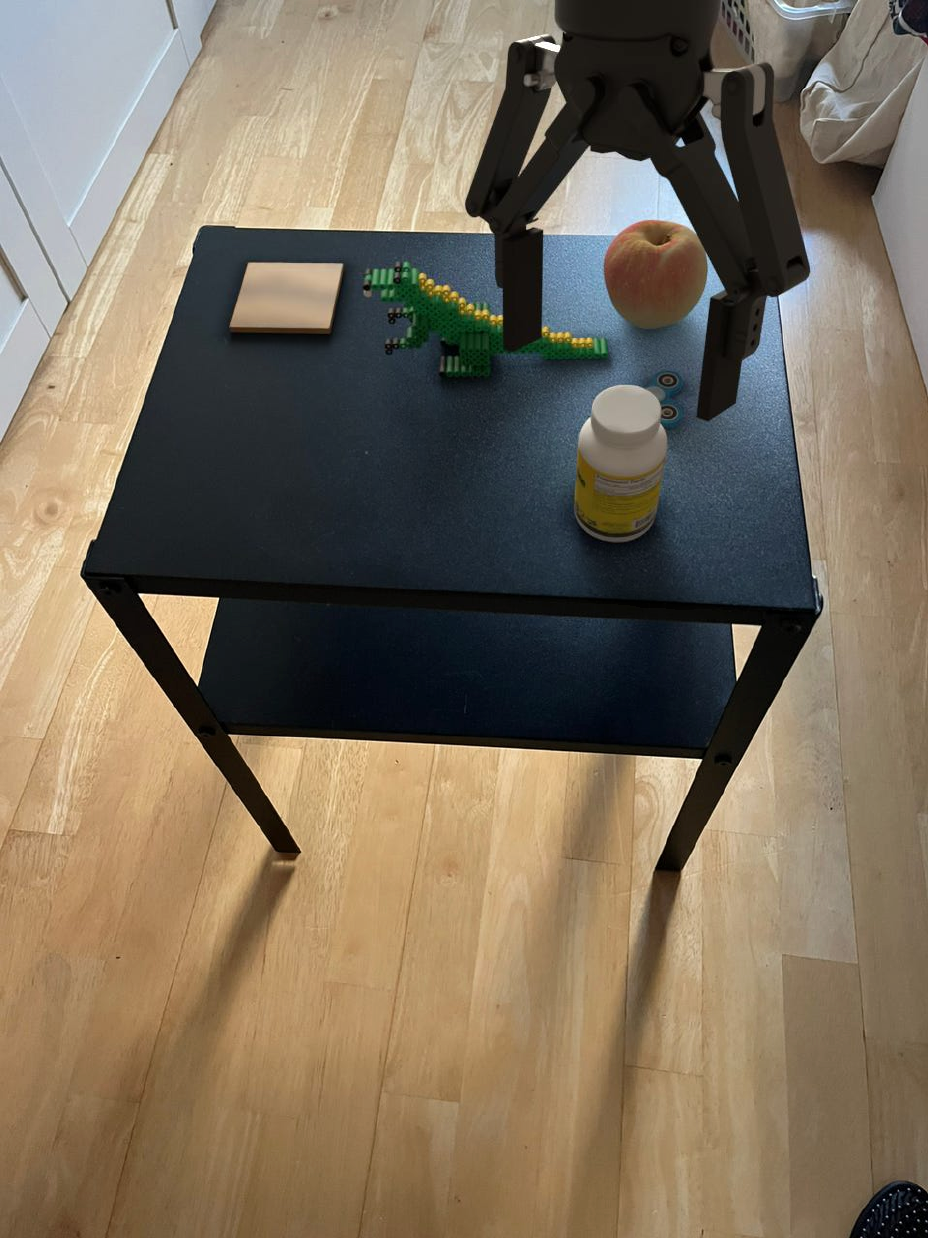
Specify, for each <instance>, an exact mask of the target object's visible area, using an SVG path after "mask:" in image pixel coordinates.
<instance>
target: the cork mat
mask: <svg viewBox="0 0 928 1238" xmlns="http://www.w3.org/2000/svg"><path fill="white" fill-rule="evenodd" d="M344 271H345V265H344V263H326V262H325V263H322V262H321V263H318V262H317V263H315V262H313V263H312V262H309V263H308V262H247V266H246V269H245V273H244V277H243V279H242V283H241V286H240V289H239V293H238V296H237V299H236V303H235V306H234V310H233V314H232V317H231V320H230V323H229V331H230V333H254V334H256V333H257V334H261V333H262V334H263V333H264V334H316V335H317V334H319V335H320V334H322V335H323V334H324V335H329V334H331V332H332V329H333V328H332V327H333V324H334V319H335V314H336V309H337V305H338V299H339V294H340V291H341V287H342V282H343V281H342V280H343V277H344Z"/></svg>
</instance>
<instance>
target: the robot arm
mask: <svg viewBox="0 0 928 1238" xmlns="http://www.w3.org/2000/svg"><path fill="white" fill-rule="evenodd" d="M720 7H721V0H554V22H555V24H556V26H557V28H558V29H559V30H560V31H561V32H562V37H561V42H560V45H558V44H557V43H556V40H555V38H554V36H553V35H551V34H549V33H545V34H541V35H536V36H533V37H528V38H524V39H520V40H516V41H513V42H512V43H511V44H510V45H509V46H508V50H507V58H506V60H507V61H506V73H505V74H506V75H505V85H504V86H505V87H504V91H503V93H502V96H501V98H500V102H499V104H498V107H497V110H496V113H495V116H494V119H493V120H492V121H493V122H492V123H491V127H490V130H489V133H488V135H487V138H486V141H485V143H484V147H483V149H482V152H481V156H480V158H479V161H478V164H477V167H476V170H475V172H474V175H473V177H472V181H471V183H470V186H469V188H468V192H467V195H466V197H465V200H464V208H465V211H466V214H468V216H469V217H471V218H475V219H476V218H481V219H482V220H483V221H485V222H486V223H487V224H488V228H489V230H490V231H491V233H492V234H493V236H494V238H493V239H494V279H495V283H496V286H497V288H499V289H501V290H502V315H503V349H504V350H507V351H510V352H512V353H513V352H514V351H516V350H518V349H520V348H522V347H524V346H526V345H528V344H530V343H532V342H534V341H536V340H538V339H541V338H542V328H543V284H544V283H543V279H544V278H543V277H544V276H543V275H544V229H543V228H539V227H534V226H533V227H530V228H528V229H527V225H529V224H532V223H535V222H537V221H538V220H539V217H536V216H537V215H538V213H539V212H540V211H541V210H542V208H543V207H544V205H545V204H546V203H547V202H548V200H549V198H551V196H552V195H553V194H554V193H555V191H556V190H557V188H558V187H559V186H560V185H561V183H562V182H563V181H564V180H565V178H566V177H567V175H568V174H569V173H570V172H571V171H572V169H573V168H574V167H575V165H576V164H577V162H578V161H579V160H580V159H581V158H582V156H583V155H584V153H585V152H586V151H587V150H588V148H589V151H590V152H593V153H597V154H609V153H617V154H619V155H621V156H622V157H624V158H626V159H627V160H631V161H637V162H644V161H647V160H650V161H651V163H652V165H653V167H654V169H655V171H656V172H657V174H658V175H659V176H660V177H662V178H665V179H666V180H667V181H668V182H669V183H670V185H671V188H672V190H673V191H674V193H675V196H676V197H677V199H678V201H679V203H680V205H681V207H682V210H683V211H684V213H685V216H686V217H687V219H688V221H689V223H690V225H691V227H692V228H693V231H694V232H695V233H696V234H697V236H698V238H699V240H700V242H701V244H702V246H703V248H704V250H705V252H706V257H708V260H709V261H710V263H711V265H712V268H713V269H714V271H715V273H716V275H717V277H718V278H719V279H718V280H720V283H721V284H722V286H723V288H724V289H723V290H721V291H719V292H718V293H716V294H714V295H712V296H709V297H710V298H709V304H708V315H707V321H706V331H705V339H704V346H703V356H702V362H701V363H702V364H701V372H700V378H699V379H700V380H699V387H698V396H697V397H698V398H697V405H696V412H695V418H696V419H699V420H702V421H704V422H707V423H709V422H710V421H712V420H713V419H715V418H716V417H718V416H720V415H721V414H722V413H724V412H725V411H727V410H728V409H731V408H732V407H734V406H735V405H736V404H737V401H738V392H739V385H740V379H741V372H742V364H743V361H744V360H746V359H747V358H749V357H751V356H752V355H754V354H755V353H756V351H757V350H758V348H759V346H760V342H761V336H762V335H761V334H762V330H763V325H764V318H765V310H766V305H767V304H766V303H767V298H768V297H769V298H777V297H779V296H781V295H783V294H784V293H787V292H788V291H790V290H792V289H793V288H795V287H797V286H799V285H800V284H802V283H804V282H805V281H807V280H808V278H809V277H810V274H811V265H810V261H809V257H808V253H807V250H806V244H805V241H804V238H803V237H804V236H803V233H802V229H801V225H800V221H799V217H798V214H797V210H796V206H795V201H794V197H793V194H792V190H791V185H790V181H789V177H788V174H787V170H786V166H785V161H784V158H783V154H782V150H781V146H780V142H779V138H778V133H777V131H776V130H777V129H776V125H775V122H774V118H773V113H774V93H775V92H774V90H775V71H774V69H773V66H772V65H771V64H770V63H769V62H767V61H759V62H755V63H753V64H749V65H745V66H743V67H738V68H737V67H734V68H733V67H732V68H731V67H727V68H715V64H714V60H713V56H712V51H711V50H712V49H711V48H712V47H711V46H712V39H713V35H714V32H715V29H716V27H717V22H718V19H719V16H720ZM556 84H557V85H558V88H559V90H560V92H561V94H562V97H563V99H564V101H565V104H564V105H563V106H562V108H561V109H560V111H559V112H558V113H557V114H556V116H555V118H554V119H553V120H552V122H551V123H550V125H549V126H548V127H547V129H546V131H544V137H545V138H544V140H543V141H542V143H540V144H541V145H539V147H538V148H537V150H536V151H535V152H534V154H533V155H532V156H531V158H530V159H529V161H528V162H527V164H526V165H525V167H524V168H523V165H524V163H525V160H526V158H527V156H528V153H529V150H530V148H531V145H532V143H533V140H534V138H535V135H536V132H537V130H538V128H539V125H540V123H541V120H542V117H543V115H544V112H545V109H546V107H547V105H548V102H549V99H550V96H551V93H552V89H553V87H554V86H555V85H556ZM709 100H710V101H711V103H712V107H711V115H712V116H713V118H715V119H718V120H719V121H720V131H721V139H722V143H723V148H724V152H725V156H726V159H727V163H728V164H727V165H728V168H729V172H730V174H731V178H732V182H733V185H734V189H735V192H734V190H733V188H732V186H731V184H730V182H729V180H728V178H727V176H726V174H725V171H724V170H723V168H722V166H721V164H720V162H719V159H718V158H717V156H716V148H717V143H716V140H715V139H714V137H713V134H712V133H711V131H710V129H709V127H708V125H707V123H706V121H705V119H704V117H703V115H702V112H701V111H702V110H703V108H704V107H705V106H706V104H707V103H708V101H709ZM680 140H682V142H683V144H684V145H682V146H678V145H677V144H678V142H679V141H680ZM522 168H523V169H522Z"/></svg>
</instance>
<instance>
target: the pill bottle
mask: <svg viewBox="0 0 928 1238" xmlns="http://www.w3.org/2000/svg"><path fill="white" fill-rule="evenodd" d="M633 385H634V384H633ZM633 385H622V384H618V385H613V386H610V387H608V388H606V389H604V390H603V391H601V392H600V393H599V394H597V396H596V397H595V399H594V400H593V402H592V405H591V413H590V417H589V418H588V419H587V420H586V421H585V422H584V423H583V425H582V427H581V429H580V432H579V435H578V439H577V441H578V442H577V456H576V457H577V458H576V473H575V487H574V502H573V503H574V504H573V505H574V507H573V509H574V510H573V511H574V516H575V518H576V521H577V523H578V524H579V526H580V527H581V528H582V529H583V530H584V531H585V532H586V534H589V535H590V536H592V537H594V538H596V539H598V540H601V541H604V542H608V543H626V542H630V541H634V540H635V539H638V538H640V537H641V536H642V535H644V534H645V533H646V532H648V531H649V530H650V528H651V527H652V526H653V524H654V522H655V519H656V515H657V510H658V505H659V498H660V492H661V487H662V480H663V473H664V468H665V464H666V463H665V462H666V458H667V452H668V451H667V450H668V442H669V441H668V436H667V432H666V430H665V427H663V426H662V425H661V423H660V421H661V413H662V411H661V406H660V403H659V401H658V399H657V398H656V397H655V396H654V395H653V394H652V393H651V392H649V391H647V390H646V389H644V388H641V387H642V386H638V385H636V386H633Z"/></svg>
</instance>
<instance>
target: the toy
mask: <svg viewBox="0 0 928 1238" xmlns="http://www.w3.org/2000/svg"><path fill="white" fill-rule="evenodd" d="M683 383H684V381H683V377H682V375H680V374H679V373H678V372H676V371H674V370H670V369H666V370H665V369H663V370H659V371H658V372H656V373H655V374H654V375H653V378H652V382H651V383H650V384H649V385H647V386H640V387H641V388H644V389H646V390H647V391H649V392H651V393H652V394H653V395H654V396H655V397H656V398H657V399H658V401H659V403H660V406H661V411H662V413H661V421H660V423H661V425H662V426H663V428H674V427H676V426H677V425H679V424H680V423H681V421H682V418H683V409H682V408H681V406H679V405H678V404H676V403H675V402H673V401H672V400H671V396H672V395H675V394H677V393H679V392H681V390H682V388H683ZM621 385H633V386H637V385H636V384H633V383H621Z"/></svg>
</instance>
